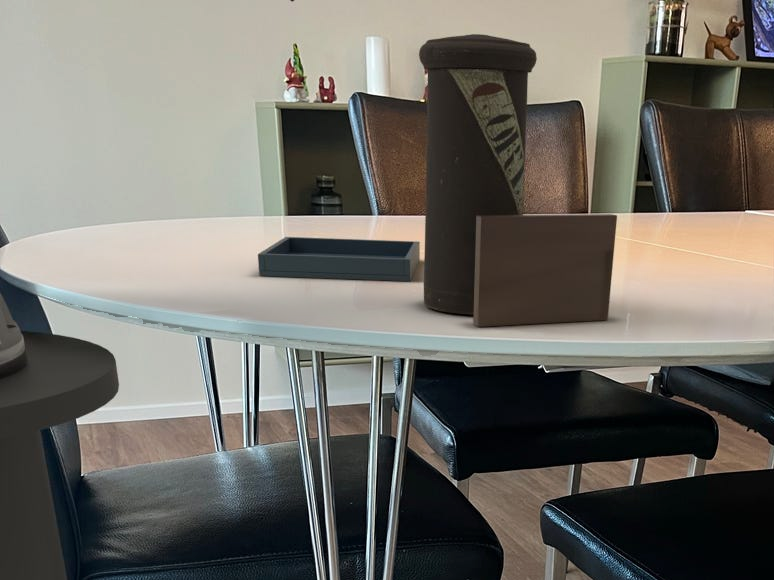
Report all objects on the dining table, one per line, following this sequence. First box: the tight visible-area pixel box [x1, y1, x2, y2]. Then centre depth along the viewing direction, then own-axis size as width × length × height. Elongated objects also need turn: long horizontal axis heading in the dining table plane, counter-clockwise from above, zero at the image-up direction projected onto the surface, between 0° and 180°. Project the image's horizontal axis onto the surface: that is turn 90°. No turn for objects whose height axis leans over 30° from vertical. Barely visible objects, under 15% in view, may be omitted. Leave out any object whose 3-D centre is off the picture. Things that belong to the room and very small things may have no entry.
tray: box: [257, 236, 421, 282], centre depth 103 cm, size 15×15×2 cm
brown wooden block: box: [472, 213, 618, 328], centre depth 84 cm, size 15×12×8 cm
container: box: [418, 33, 538, 316], centre depth 80 cm, size 9×9×20 cm
